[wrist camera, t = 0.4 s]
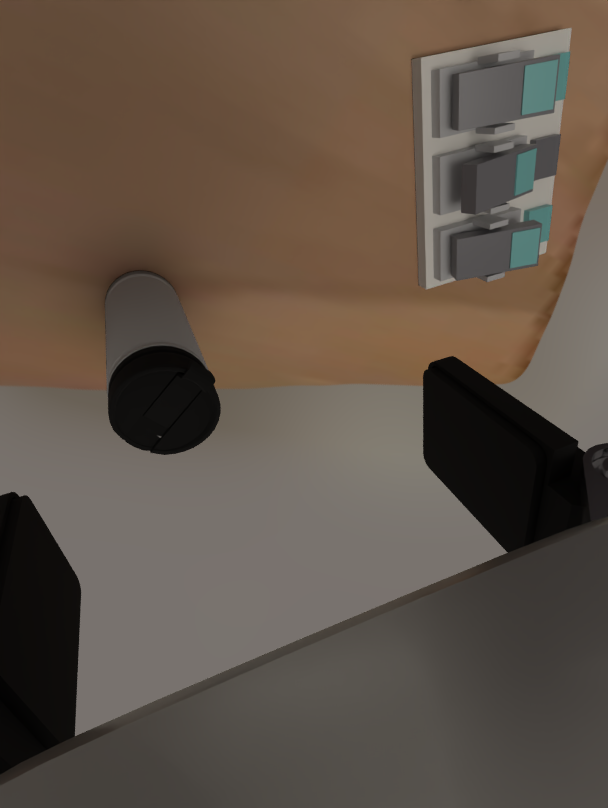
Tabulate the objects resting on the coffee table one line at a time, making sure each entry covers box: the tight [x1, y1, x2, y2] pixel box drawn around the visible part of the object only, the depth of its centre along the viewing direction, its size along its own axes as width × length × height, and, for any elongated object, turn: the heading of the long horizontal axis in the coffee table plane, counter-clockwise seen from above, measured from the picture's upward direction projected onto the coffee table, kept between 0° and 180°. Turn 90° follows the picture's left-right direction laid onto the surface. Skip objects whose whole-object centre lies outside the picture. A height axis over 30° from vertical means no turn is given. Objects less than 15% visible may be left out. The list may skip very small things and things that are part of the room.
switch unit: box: [412, 28, 572, 289], centre depth 46 cm, size 20×15×5 cm
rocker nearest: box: [452, 54, 560, 131], centre depth 40 cm, size 4×8×2 cm, turn 100°
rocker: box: [451, 220, 542, 281], centre depth 47 cm, size 4×8×2 cm, turn 100°
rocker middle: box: [461, 144, 537, 215], centre depth 44 cm, size 4×8×2 cm, turn 100°
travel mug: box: [105, 271, 220, 455], centre depth 36 cm, size 6×7×20 cm
